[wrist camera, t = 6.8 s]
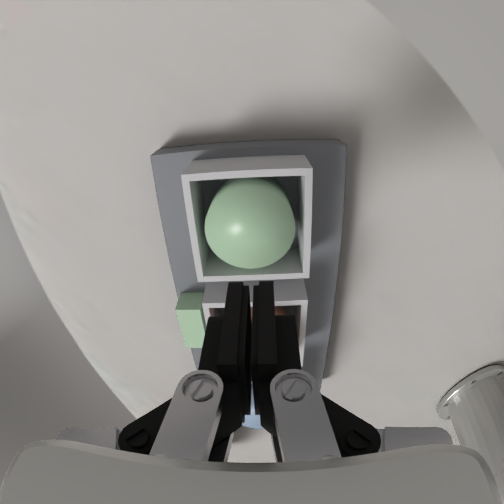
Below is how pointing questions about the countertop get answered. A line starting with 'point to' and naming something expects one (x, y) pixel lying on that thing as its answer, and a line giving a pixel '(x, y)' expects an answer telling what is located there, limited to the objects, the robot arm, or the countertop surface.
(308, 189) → the button panel
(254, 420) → the slate button
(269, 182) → the green button
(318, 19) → the countertop surface
